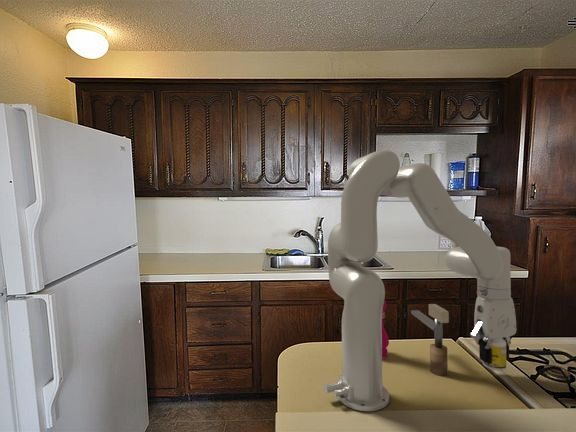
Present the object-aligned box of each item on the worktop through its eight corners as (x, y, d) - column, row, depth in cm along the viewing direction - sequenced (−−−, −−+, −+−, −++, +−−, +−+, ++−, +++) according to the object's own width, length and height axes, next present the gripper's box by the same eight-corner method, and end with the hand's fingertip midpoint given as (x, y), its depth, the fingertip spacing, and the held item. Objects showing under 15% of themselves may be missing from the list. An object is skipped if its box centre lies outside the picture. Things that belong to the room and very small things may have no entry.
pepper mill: (390, 360, 96) (389, 294, 96) (365, 359, 98) (364, 293, 97) (387, 350, 103) (387, 288, 103) (364, 348, 105) (363, 288, 104)
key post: (438, 377, 86) (438, 351, 86) (426, 369, 91) (426, 344, 90) (451, 374, 88) (451, 348, 88) (439, 366, 92) (438, 342, 92)
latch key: (449, 351, 86) (449, 311, 85) (440, 351, 85) (440, 311, 85) (418, 326, 104) (417, 293, 104) (411, 326, 104) (410, 293, 104)
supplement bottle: (478, 364, 87) (477, 328, 87) (490, 359, 90) (490, 325, 89) (498, 373, 82) (498, 335, 82) (511, 368, 85) (510, 331, 85)
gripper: (481, 300, 79) (482, 372, 80) (531, 292, 85) (531, 360, 85) (457, 292, 87) (457, 358, 87) (504, 286, 92) (504, 348, 92)
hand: (494, 358), depth 86 cm, fingers closed on supplement bottle, 5 cm apart
